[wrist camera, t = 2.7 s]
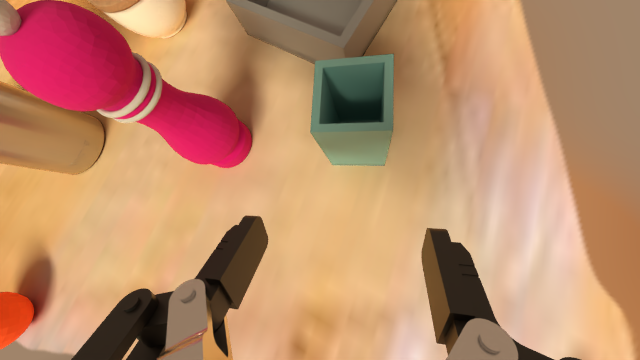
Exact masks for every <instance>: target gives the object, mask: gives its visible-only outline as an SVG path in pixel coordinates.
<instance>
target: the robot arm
mask: <svg viewBox="0 0 640 360" xmlns="http://www.w3.org/2000/svg"><path fill="white" fill-rule="evenodd" d="M103 143H104V130H103V126H102V124H101V123H100V121H99V120H98V119H97V118H95V117H93V116H90V115H88V114H85V113H82V112H80V111H75V110H68V109H64V108H61V107H58V106H55V105H53V104H50V103H48V102H46V101H44V100H42V99H40V98H38V97H36V96H35V95H33V94H32V93H30V92H27V91H25V90H22V89H19V88H17V87H14V86H11V85H9V84H6V83H4V82H1V81H0V163H1V164H7V165H14V166H20V167H26V168H33V169H39V170H45V171H52V172H59V173H65V174H72V175H74V174H79V173H82V172H84V171H85V170H87V169H88V168H89V167H91V166H92V165H93V164H94V162H95V161H96V160H97V158H98V156H99V155H100V153H101V150H102V147H103ZM267 245H268V236H267V233H266V230H265V227H264V224H263V221H262V218H261V217H260V216H244V217H243V219H242V220H241V222H240V223H239V225H235V226H233V227H232V228H231V229H230V230H229V231H227V232H226V234H225V235H224V237H223V238H222V240H221V242H220V243H219V244H218V246H217V247H216V250H214V251H213V253H212V254H211V256H210V257H209V259H208V260H207V262H206V263H205V265H204V266H203V268H202V269H201V270H200V272H199V273H198V275H197V276H196V278H195V279H192V280H189V281H186V282H184V283H183V284H181V285H180V286H179V287H178V288H177V289H176V290H175V291H172V292H167V293H162V294H157V295H154V294H153V293H152V292H151V291H150V290H148V289H138V290H136V291H133V292H131V293H130V294H128V295H127V296H125V297H124V298H123V299H122V300H121V301H120V302H119V303H118V304H117V305H116V307H115V308H114V309H113V310H112V311H111V313H110V314H109V315H108V316H107V317H106V319H105V320H104V321H103V322H102V323H101V325H100V326H99V327H98V328H97V329H96V331H95V332H94V333H93V334H92V335H91V337H90V338H89V339H88V340H87V341H86V343H85V344H84V345H83V346H82V347H81V349H80V350H79V351H78V352H77V354H76V355H75V356H74V357H73V358H72V360H122V358H123V357H124V355H125V354H126V352H127V351H128V350H129V348H130V347H131V345H132V344H133V342H134V341H135V339H136V338H137V339H138V340H139V341H138V343H137V344H136V346H135V347H134V349H133V350H132V352H131V353H130V355H129V356H128V358H127V359H126V360H233V357H232V351H231V343H230V336H229V329H228V322H227V316H226V313H227V311H228V309H229V308H233V309H238V308H239V306H240V304H241V302H242V300H243V297H244V295H245V293H246V291H247V289H248V287H249V285H250V282H251V280H252V278H253V276H254V274H255V272H256V269H257V267H258V265H259V263H260V261H261V259H262V257H263V254H264V252H265V250H266V248H267ZM422 265H423V271H424V276H425V282H426V287H427V293H428V298H429V304H430V309H431V314H432V320H433V325H434V331H435V336H436V342H437V343H439V344H445V345H446V348H447V353H448V357H447V358H446V360H554V359H552V358H549V357H547V356H545V355H542V354H540V353H538V352H536V351H533V350H531V349H529V348H527V347H525V346H523V345H521V344H519V343H518V342H516V341H515V340H514V339H512V338H511V337H510V336H509V335H508V334H507V332H506V331H505V330H503V329H502V328H501V327H500V325H499V324H498V322H497V321H496V319H495V316H494V314H493V311H492V309H491V306H490V304H489V301H488V298H487V296H486V293H485V291H484V288H483V286H482V283H481V281H480V278H479V277H478V276H479V275H478V273H477V270H476V268H475V265H474V263H473V260H472V257H471V255H470V253H469V252H468V251H467V250H466V249H465V247H464V246H463V245H462V244H461V243H456V242H451V240H450V237H449V234H448V231H447V230H446V229H433V228H427V230H426V234H425V239H424V243H423V248H422ZM560 360H580V359H577V358H572V357H565V358H562V359H560Z"/></svg>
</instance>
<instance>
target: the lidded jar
mask: <svg viewBox="0 0 640 360" xmlns="http://www.w3.org/2000/svg"><path fill="white" fill-rule="evenodd" d="M88 1H89V2H90V3H91V4H92V5H93V6H95V7H96V8H97V9H99V10H101V11H103V12H104V13H105V14H106V15H108V16H109V17H110V18H112V19H113V20H114V21H116V22H117V23H119V24H120V25H122V26H123V27H125V28H127V29H129V30H131V31H133V32H135V33H137V34H140V35H143V36H147V37H160V38H170V37H172V36H174V35H176V34H177V33H178V32H179V31H180V30H181V29H182V28H183V26H184V24H185V22H186V19H187V11H186V1H185V0H88Z"/></svg>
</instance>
